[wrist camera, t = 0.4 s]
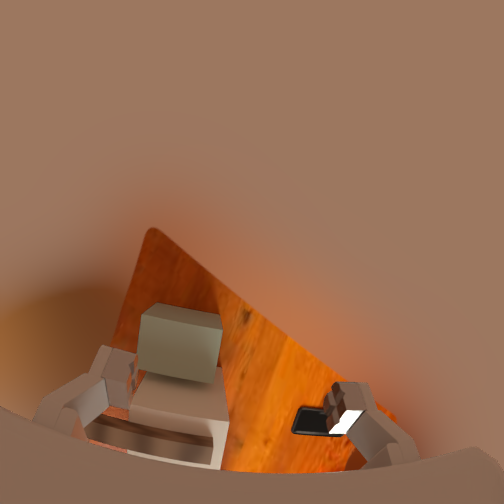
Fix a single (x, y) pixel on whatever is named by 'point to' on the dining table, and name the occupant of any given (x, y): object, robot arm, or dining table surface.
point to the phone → (312, 423)
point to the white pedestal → (183, 411)
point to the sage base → (179, 342)
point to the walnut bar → (150, 440)
